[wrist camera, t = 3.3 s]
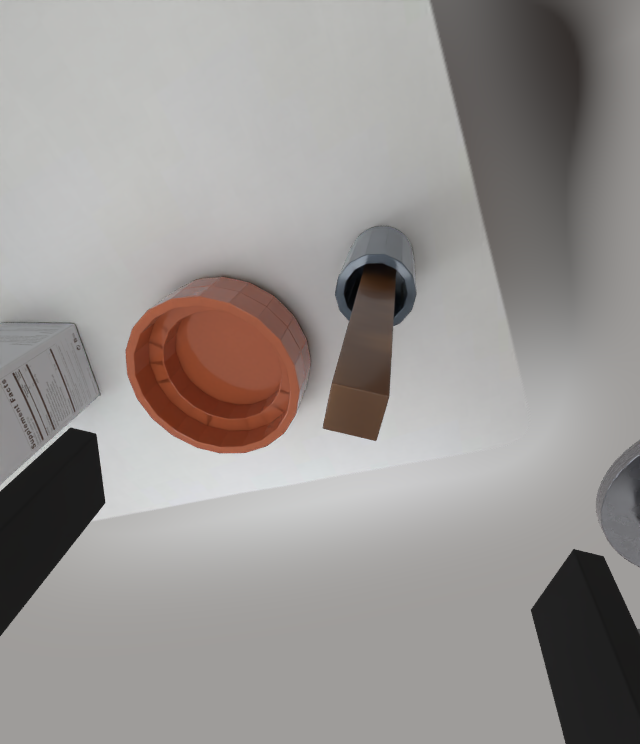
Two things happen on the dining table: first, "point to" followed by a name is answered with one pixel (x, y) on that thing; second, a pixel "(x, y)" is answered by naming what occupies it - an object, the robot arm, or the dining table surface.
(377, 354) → the stirring stick
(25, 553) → the robot arm
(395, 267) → the gray pipe section
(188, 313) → the bowl
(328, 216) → the dining table surface
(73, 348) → the rectangular carton
